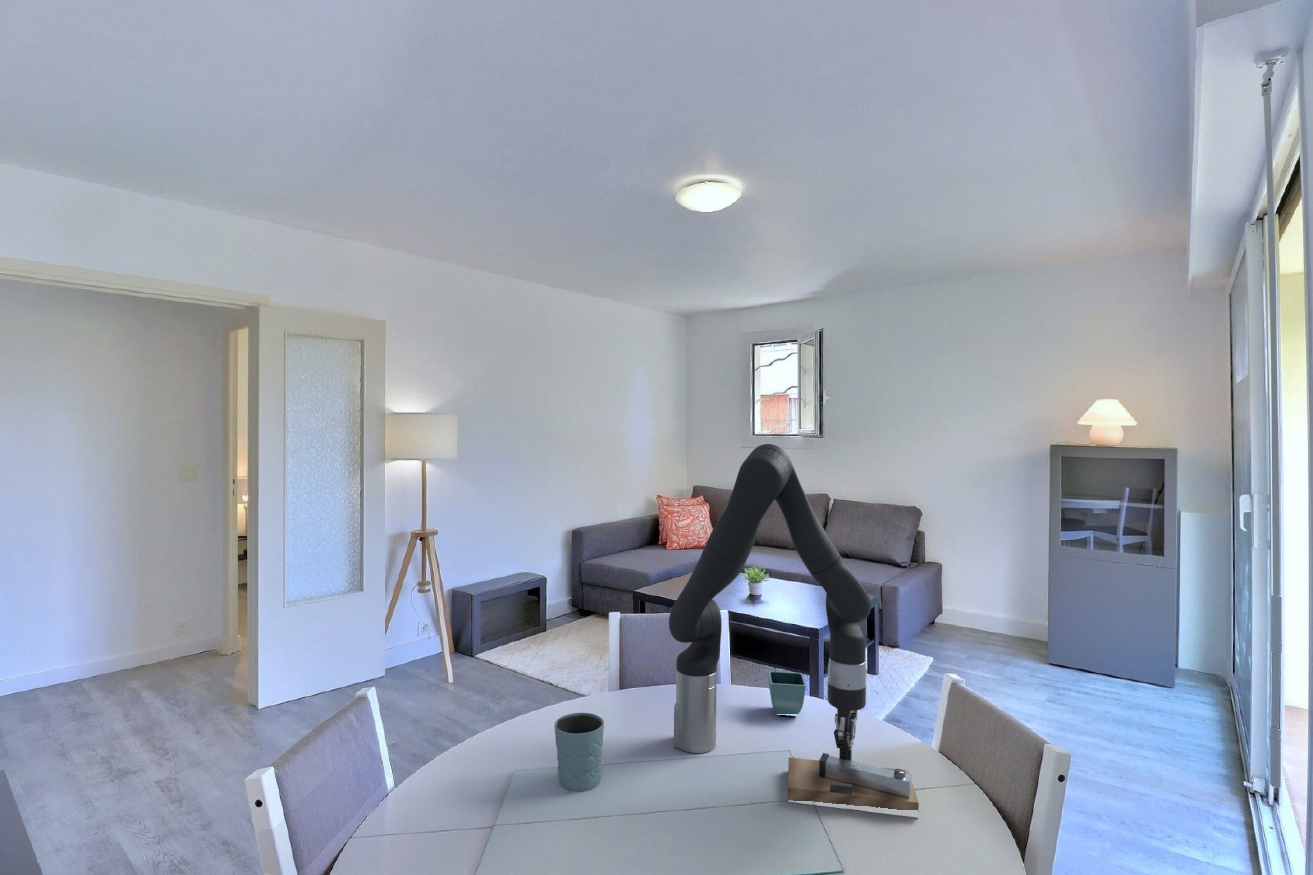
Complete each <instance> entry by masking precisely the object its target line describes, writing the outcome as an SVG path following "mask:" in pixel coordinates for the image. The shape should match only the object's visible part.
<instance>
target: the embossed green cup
mask: <svg viewBox="0 0 1313 875" xmlns="http://www.w3.org/2000/svg"><path fill="white" fill-rule="evenodd" d="M553 727H554V737H555V738H554V739H555V746H556V753H557V756H556V759H557V774H558V783H559V785H560V787H561V788H562V789H564V790H565V791H566V790H567V791H568V792H575V793H577V792H588V791H591V790H593V789H595V788H597V787H598V786H599V785H600V783H601V779H602V768H603V767H602V766H603V765H602V759H603V749H602V748H603V744H604V729H605V722H604V719H603V718H602V717H601V716H600V715H597V714H595V713H591V712H575V713H569V714H565V715H563V716H561V717H559V718H558V719H557V720H556V721H555V722H554V726H553Z"/></svg>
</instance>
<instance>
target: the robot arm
mask: <svg viewBox="0 0 1313 875" xmlns="http://www.w3.org/2000/svg"><path fill="white" fill-rule="evenodd" d="M739 467H740V468H739V470H738V473H737V476H736V478H735V482H734V486H733V489H732V491H731V494H730V498H729V501H728V503H727V506H726V507H725V509H724V511H723V513H722V514H721V515H720V517H719V518H718V520H717V522H716V524H715V525H714V527H713V529H712V531H711V533H710V535H709V536H708V539H707V541H706V542H705V545H704V547H703V549H702V552H701V554H700V557H699V559H698V560H697V563H696V564H695V566H694V569H693V571H692V573H691V575H690V577H689V579H688V581H687V583H686V585H684V588H683V589H682V591H681V593H680V594H679V595H678V597H677V598H676V600H675V601H674V603H673V605H672V607H671V609H670V613H669V617H668V618H669V619H668V628H669V632H670V634H671V636H672V637H673V639H674V640H676V641H677V642H679V643H683V644H684V643H685V644H687V643H690V645H689V646H688V647H687V648H686V649H684V650H683V651H681V653H678V655H677V657H676V664H675V665H676V666H675V668H676V671H675V672H676V674H675V677H676V678H675V680H676V681H675V687H676V688H675V703H674V707H673V748H677V749H680V750H681V751H684V752H686V753H692V754H704V753H708V752H710V751H712V750H714V749H715V748H716V742H717V683H718V682H717V678H718V676H717V671H718V670H717V669H718V668H717V667H718V662H719V660H720V657H721V655H720V654H721V642H722V641H721V640H722V627H723V626H722V624H723V622H722V614H721V610H720V607H719V605H718V604H717V602H716V601H715V600H714V598H715V597H716V596H717V595H718V594H720V593H721V592H722V591H724V589H726V588H727V587H728V586H730V585H731V583H733V582H734V581H735V579H737V577H738V576H739V575H741V574H740V573H742V570H743V569H744V566H745V565H746V563H747V561H748V559H749V556H751V552H752V550H753V547H754V544H755V540H756V536H757V532H758V528H759V525H760V524H761V522H762V519H763V518H764V516H765V515H766V513H767V511H768V510H769V509H770V507H771V505H772V504H773V503H774V501H775V502H776V503H777V505H778V507H779V509H780V510H781V514H782V515H783V517H784V519H785V523H786V525H787V529H788V532H789V535H790V538H791V541H792V544H793V546H794V549H795V550H796V552H797V554H798V556H799V557H800V560H801V561H802V563H803V564H804V566H805V567H806V569H807V571H808V573H809V574H810V575H811V577H812V578H813V579H814V580H815V581H816V582H817V583H818V584H819V585H820V586H821V587H822V588H823V590H824V591H825V593H826V595H825V612H826V619H827V624H828V625H827V626H828V631H829V658H828V665H827V696H826V697H827V698H826V699H827V702H828V703H829V705H830V706H832V707H834V708H835V709H837V711H836V713H834V714H835V715H834V724H835V729H834V731H833V735H834V741H835V745H836V749H839V754H838V755H839V757H838V758H841V759H846V760H850V761H853V760H852V759H853V758H852V757H853V756H852V755H853V754H852V753H853V746H854V740H855V738H856V733H857V720H858V718H859V717H858V715H859V714H858V711H860V710H862V709H864V708H865V707H866V705H867V668H866V637H865V635H864V632H863V631H862V629H861V626H860V623H861V622H863V621H865V620H866V619H867V618H868V617H869V615H870V613H871V610H872V602H871V598H870V595H869V594H868V592H867V590H866V589H865V587H864V585H862V583H861V582H860V581H859V579H858V578H857V577H856V576H855V574H854V573H853V572H852V571H851V570H850V569H849V567H848V566H847V565H846V562H845V561H844V560H843V558H842V556H841V554H840V553H839V551H838V550H837V548H836V546H835V544H834V543H833V541H832V540H831V539H830V537H829V535H828V534H827V532H826V531H825V529H824V527H823V525H822V524H821V522H820V520H819V518H818V517H817V515H816V513H815V511H814V509H813V507H812V505H811V502H810V501H809V499H808V497H807V495H806V492H805V490H804V489H803V485H802V483H801V481H800V480H799V476H798V474H797V472H796V468H795V467H794V464H793V462H792V460H791V459H790V457H789V455H788V454H787V452H786V451H785V450H784V449H783V448H781V447H780V446H778V445H775V444H772V443H763V444H761V445H758V446H757V447H755V448H754V449H753V450H752V451H751V452H750V453H749V454H748V456H747V457H746V458H745V459H744V461H743V462H742V463H741V465H740V466H739Z"/></svg>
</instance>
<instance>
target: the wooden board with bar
mask: <svg viewBox="0 0 1313 875" xmlns="http://www.w3.org/2000/svg"><path fill="white" fill-rule="evenodd" d="M879 767H880V768H882V767H881V766H879ZM787 768H788V770H787V772H788V773H787V801H788V800H793V801H814V802H823V803H832V804H834V803H835V804H846V805H854V806H869V807H870V806H871V807H876V808H878V807H880V808H888V809H897V810H918V811H919V808H920V807H919V803H920V802H919V799H918V796H917V792H916V790H915V787H914V784H913V780H911V794H910V798H909V797H905V796H901V795H896V794H892V793H888V792H884V791H880V790H876V789H872V788H868V787H864V786H860V785H856V784H852V783H847V782H843V781H839V780H835V779H831V778H827V777H821V776H819V760H817V759H807V758H799V757H788V767H787ZM884 768H885V769H889V770H895V769H896V768H888V767H884ZM903 770H904V771H905V773H907V774H910V772H909V770H906V769H903Z"/></svg>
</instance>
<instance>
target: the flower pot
mask: <svg viewBox="0 0 1313 875" xmlns="http://www.w3.org/2000/svg"><path fill="white" fill-rule="evenodd" d="M768 684H769V695H770V701H771V706H772V709H773V711H774V714H775V715H776V714H798V715H799V714H800V713H801V712H802V710H803V706H804V703H805V702H804V701H805V697H806V696H805V695H806V688H807V684H806V681H805V678H804V674H803V673H801V672H791V671H774V670H773V671H771V670H770V671H768Z"/></svg>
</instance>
